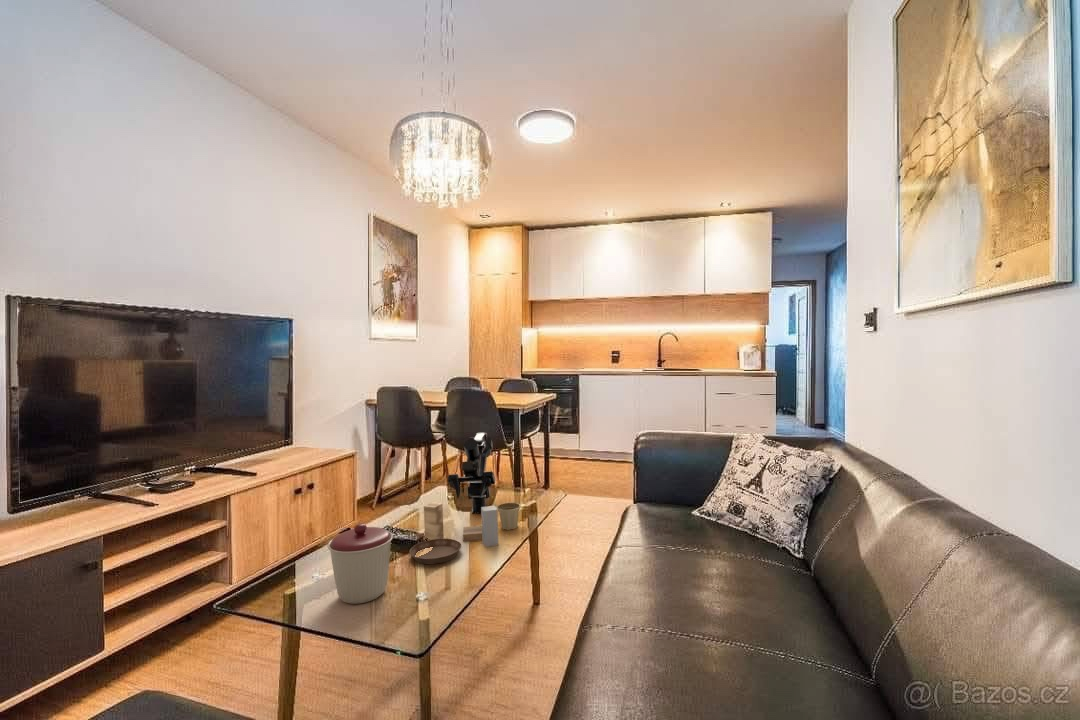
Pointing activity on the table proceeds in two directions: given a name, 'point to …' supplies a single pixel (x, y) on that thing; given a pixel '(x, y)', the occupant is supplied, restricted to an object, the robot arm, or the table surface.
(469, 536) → the walnut block
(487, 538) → the grey pillar
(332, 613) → the table surface
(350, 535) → the canister
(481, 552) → the table surface
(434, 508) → the oak pillar
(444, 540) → the plant saucer
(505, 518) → the flower pot
